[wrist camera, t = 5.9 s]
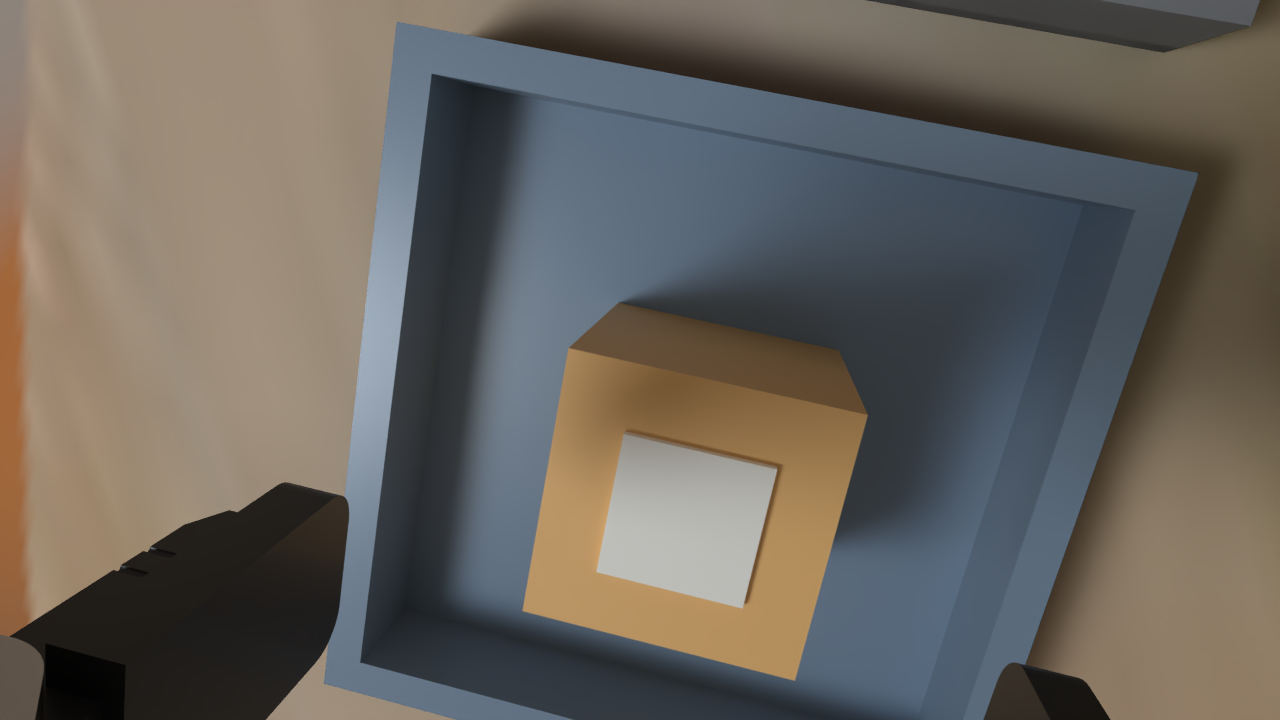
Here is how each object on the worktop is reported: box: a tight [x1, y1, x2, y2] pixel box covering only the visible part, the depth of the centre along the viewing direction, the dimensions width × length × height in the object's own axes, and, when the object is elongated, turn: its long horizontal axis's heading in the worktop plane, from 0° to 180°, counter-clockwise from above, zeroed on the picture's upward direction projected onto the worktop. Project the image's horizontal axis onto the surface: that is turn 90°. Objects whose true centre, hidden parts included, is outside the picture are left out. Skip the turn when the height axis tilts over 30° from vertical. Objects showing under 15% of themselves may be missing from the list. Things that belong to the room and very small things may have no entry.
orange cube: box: [523, 303, 868, 681], centre depth 16 cm, size 5×5×5 cm
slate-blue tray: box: [324, 22, 1199, 720], centre depth 18 cm, size 15×15×3 cm
